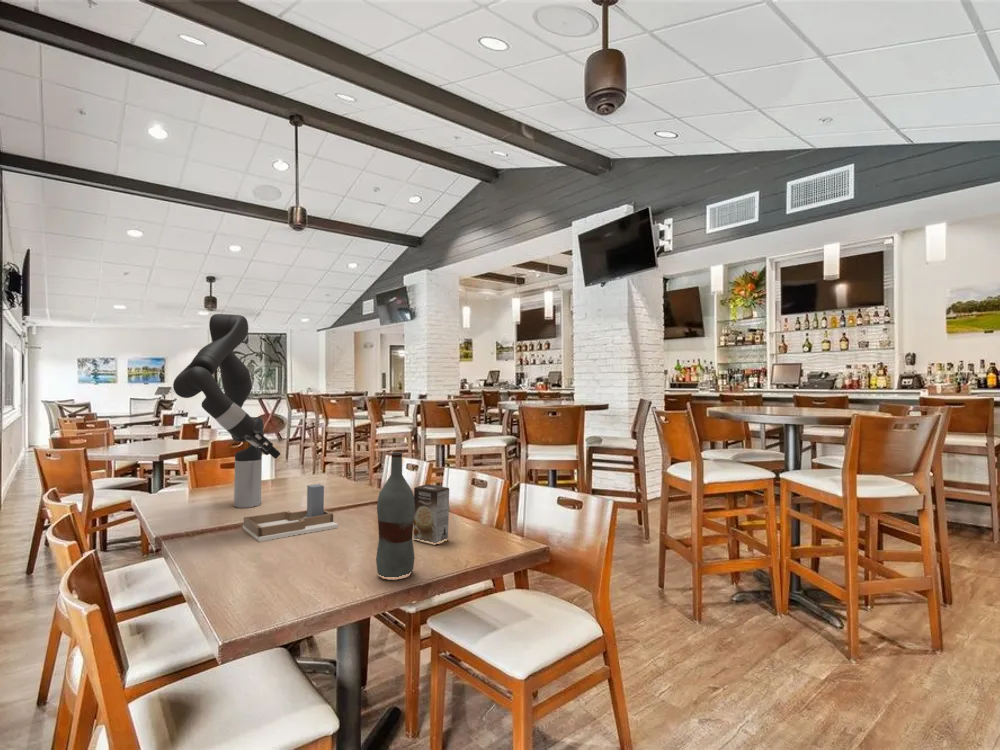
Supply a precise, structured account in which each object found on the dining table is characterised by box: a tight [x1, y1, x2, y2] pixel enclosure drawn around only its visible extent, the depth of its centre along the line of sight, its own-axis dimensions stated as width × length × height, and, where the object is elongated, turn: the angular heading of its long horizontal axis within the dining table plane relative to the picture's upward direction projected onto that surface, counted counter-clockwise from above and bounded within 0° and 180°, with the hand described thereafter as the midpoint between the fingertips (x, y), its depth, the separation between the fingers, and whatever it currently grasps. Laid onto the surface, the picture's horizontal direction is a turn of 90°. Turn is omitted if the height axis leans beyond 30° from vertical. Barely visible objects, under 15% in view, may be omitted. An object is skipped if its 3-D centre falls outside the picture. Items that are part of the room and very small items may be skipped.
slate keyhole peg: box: [303, 483, 325, 518], centre depth 175 cm, size 6×6×12 cm
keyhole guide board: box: [242, 509, 339, 543], centre depth 170 cm, size 18×24×4 cm
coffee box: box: [412, 483, 450, 543], centre depth 159 cm, size 9×6×16 cm
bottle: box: [375, 451, 416, 577], centre depth 131 cm, size 9×9×30 cm
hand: (273, 454), depth 169 cm, fingers open, 8 cm apart
